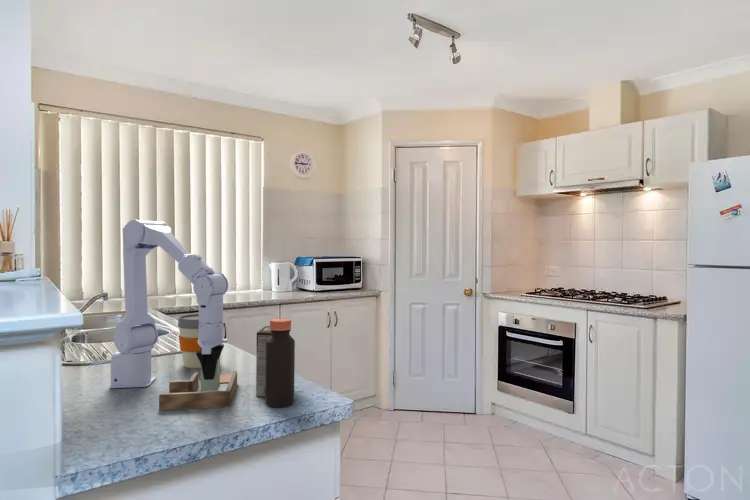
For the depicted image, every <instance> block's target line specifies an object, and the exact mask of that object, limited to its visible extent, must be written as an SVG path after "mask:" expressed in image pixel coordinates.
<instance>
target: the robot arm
mask: <svg viewBox="0 0 750 500" xmlns="http://www.w3.org/2000/svg"><path fill="white" fill-rule="evenodd" d="M122 242H123V243H122V245H123V246H122V250H123V251H122V258H123V285H124V310H125V312H124V314H125V315H124V316H123V317H122V318H121V319H119V321H118V322H117V323H116V324H115V325H116V326H115V328H116V329H115V333H114V336H113V344H114V346H115V347H116V349H117V351H116V350H115V351H114V352H113V354H112V355H111V359H110V360H111V361H110V386H109V389H119V388H121V389H122V388H143V387H148V388H149V386H150V385H151V384H153V382H154V381H155V380H156V379H157V377H156V376H152V349H154V347H155V345H156V344H157V343H158V339H159V332H158V328H157V325H156V319H155V318H154V317H153V316H152V315H150V314H149V311H148V307H149V306H148V287H147V286H148V284H147V283H148V282H147V260H146V259H147V256H148V254H149V253H150V252H152V250H155V249H157V248H158V247H159V248H161V249H162V250H163V251H164V252H166V253H167V255H169V256H170V257H171V258H173V260H175V262H177V264H178V265H177V269H178V271H179V272H180V273H181V274H182V275H183V276H184V277H185V278H186V279H187V280H188V281H189V282H190V283H191V284H192V286H193V293H194V294H195V296H196V303H197V304H198V314H199V340H198V345H200V346H201V350H198V351H197V352H196V355H197V357H198V359H199V361H200V363H201V367H202V371H203V376H204V379H205V380H213V379H214V376H215V370H216V364H217V360H218V358H220V357H221V354H222V352H223V349H224V347H225V344H226V343H228V341H229V340H228V339H229V338H224V295H225V294H226V293H227V292H228V290H229V289H228V288H229V281H228V279H227V277H226V276H225V274H224V273H222V272H216V271H215V270H214V269H213V268H212V267H210V266H209V265H208V264H207V263H206V262H205V261H204V260H203V259H202V258H203V257H202V256H201V255H200V254H196V253H189V251H188V250H187V249H186V248H185V247H184V246H183V245H182V244H181V242H180V241H179V240H178V239H177V238H176V236H175V235H174V234H173V233H172V228H171V227H170V226H169V225H168V224H167V222H165V221H162V220H155V221H154V220H140V219H139V220H138V219H130V220H129V221H128V222H127V223H126V224H125V225H124V227H123V228H122Z"/></svg>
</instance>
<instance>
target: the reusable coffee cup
mask: <svg viewBox="0 0 750 500" xmlns="http://www.w3.org/2000/svg"><path fill="white" fill-rule="evenodd" d="M177 320H178V321H177V327H178V331H179V335H178V341H179V343H178V344H179V349H180V351H181V353H182V354H181V355H182V362H183V366H184V367H185V368H188V369H201V363H200V361H199V359H198V357H197V355H196V352H197V351H198V350H201V346H200V345H198V340H199V313H191V314H184V315H183V314H182V315H180V316H179V317H178V319H177Z"/></svg>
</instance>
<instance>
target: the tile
mask: <svg viewBox="0 0 750 500" xmlns="http://www.w3.org/2000/svg"><path fill="white" fill-rule="evenodd" d="M231 376H232V373H228V374H227V373H224V374H221V373H220V384H229V381H230V378H231Z"/></svg>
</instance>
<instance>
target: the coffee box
mask: <svg viewBox="0 0 750 500" xmlns="http://www.w3.org/2000/svg"><path fill="white" fill-rule="evenodd" d="M270 336H271V331H270V325H266V326H264V327H262V328H261V329H260V330H258V331H257V332H256V355H255V356H256V357H255V358H256V362H255V363H256V365H255V367H256V371H255V373H256V374H255V375H256V378H255V381H256V382H255V386H256V387H255V394H256V395H255V396H256V397H265V388H266V341H267V339H268V338H269V337H270Z"/></svg>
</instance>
